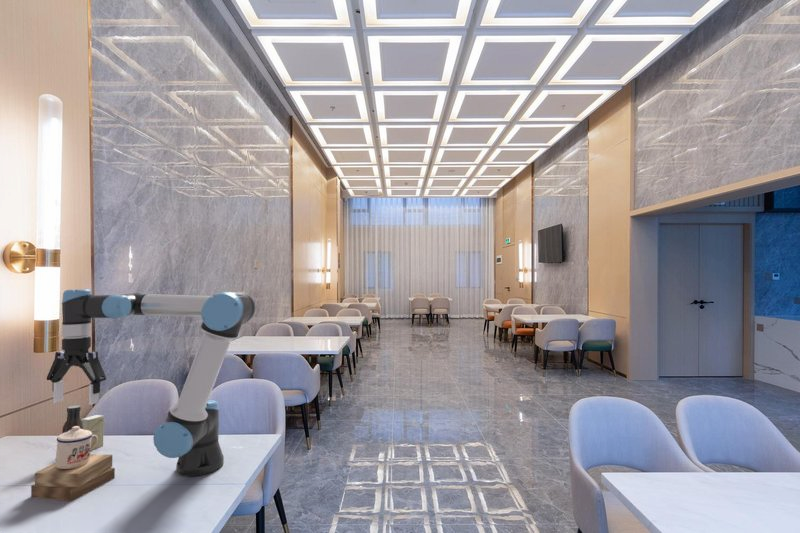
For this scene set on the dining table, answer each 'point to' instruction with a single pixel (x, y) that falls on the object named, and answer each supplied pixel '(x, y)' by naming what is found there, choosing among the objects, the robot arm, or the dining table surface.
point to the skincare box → (94, 428)
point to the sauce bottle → (72, 418)
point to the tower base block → (72, 488)
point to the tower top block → (73, 473)
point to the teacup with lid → (74, 448)
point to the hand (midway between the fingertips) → (75, 402)
